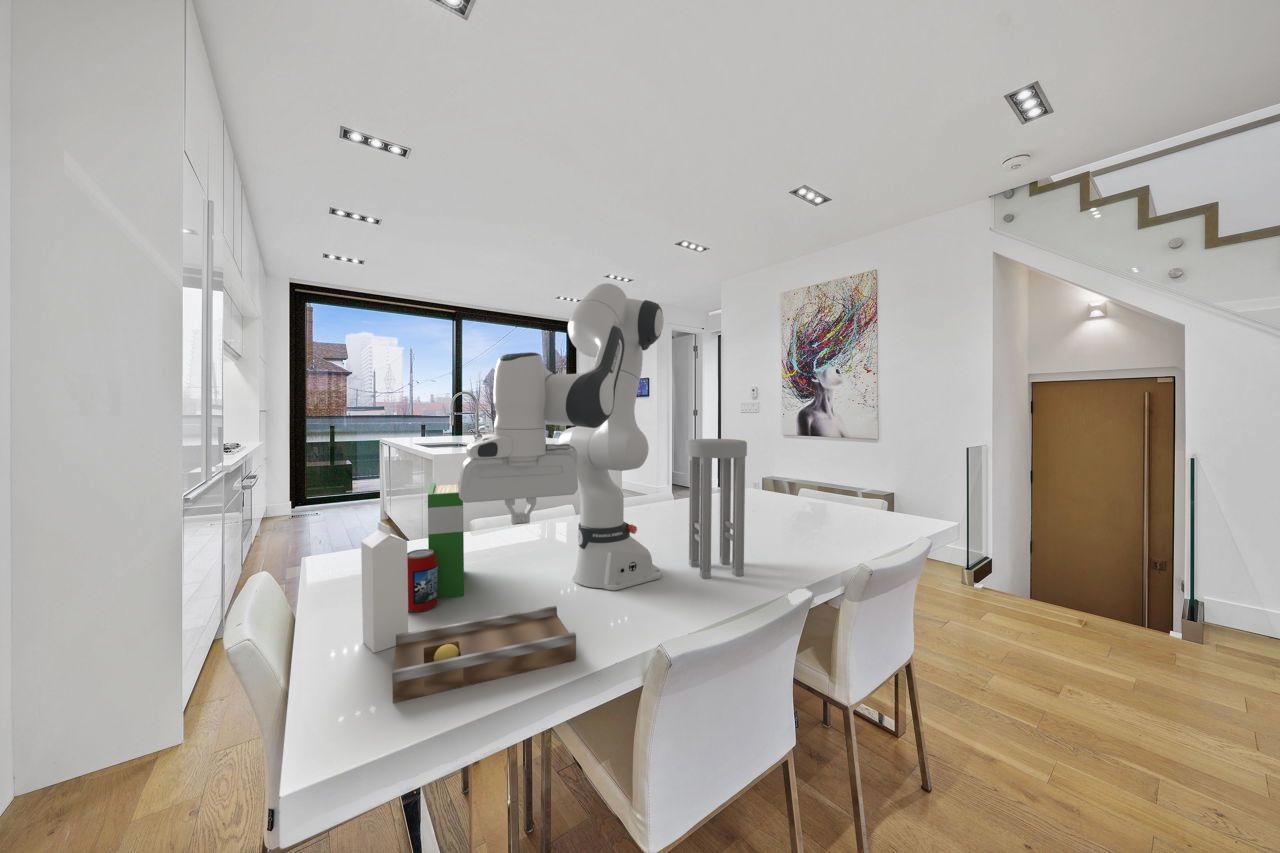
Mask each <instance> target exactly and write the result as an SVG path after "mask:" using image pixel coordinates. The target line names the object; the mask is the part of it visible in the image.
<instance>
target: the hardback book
mask: <svg viewBox="0 0 1280 853" xmlns="http://www.w3.org/2000/svg"><path fill="white" fill-rule="evenodd" d="M427 532H428V535H427V536H428V546H427V547H428V548H427V549H430V550H433V551H434V554H435V556H436V557H437V578H438V600H441V599H448V598H449V599H450V598H456V597H464V596H465V562H464V560H465V559H464V558H465V557H464V556H465V555H464V553H465V552H464V551H465V550H464V546H465V545H464V541H465V540H464V536H465V535H464V502H463V501H462V500H461V499H460V498H459V481H458V482H457V484H442V485H436V482H431V483H430V486H429V489H428V492H427Z"/></svg>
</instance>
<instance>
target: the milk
mask: <svg viewBox="0 0 1280 853" xmlns="http://www.w3.org/2000/svg"><path fill="white" fill-rule="evenodd" d="M360 544H361V546H360V547H361V548H360V549H361V551H360V552H361V553H360V556H361V597H362V598H361V600H362V601H361V602H362V603H361V606H362V608H361V609H362V613H361V614H362V641H363V643H364V645H365V646H367V647H368V649H369V650H370V651H371V652H372V653H373V654H376V653H379V652H381V651H385V650H387V649H390V648H393V647H396V634H401V633H407V632H409V610H408V567H407V553H408V541H407V540H405V539H403V538H402V537H400V536H397V535H396V534H393V533H391V527H390V526H389V525H386V524H385V523H383V522H381V521H378V522H377V530H375V531H374V532H373V533H371V534H370V535H368V536H367V537H366V538H364V539H362V540H361V541H360Z"/></svg>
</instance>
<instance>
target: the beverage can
mask: <svg viewBox="0 0 1280 853" xmlns="http://www.w3.org/2000/svg"><path fill="white" fill-rule="evenodd" d="M407 567H408V612H412V613H420V612H424V611H428V610H430V609H432V608H434V606H436V604H437V603H438V600H439V599H438V578H437V557H436V556H435V554H434V551H433V550H430V549H428V548H423V549H415V550H411V551H409V552H408V551H407Z"/></svg>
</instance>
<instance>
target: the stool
mask: <svg viewBox="0 0 1280 853" xmlns="http://www.w3.org/2000/svg"><path fill="white" fill-rule="evenodd" d="M685 450H686V453H685V455H686V456H689V486H688V487H689V490H688V491H689V494H688V495H689V496H688V497H689V498H688V499H689V506H688V507H689V509H688V510H689V511H688V514H689V515H688V516H689V517H688V523H689V524H688V566H690V567H691V568H695V567H699V577H700V578H701V579H702V580H703V579H704V580H705V579H712V508H713V507H712V505H713V504H712V500H713V499H712V498H713V497H712V496H713V495H712V494H713V492H712V491H713V489H712V488H713V459H720V467H719V468H720V470H719V471H720V474H719V476H720V478H719V480H720V481H719V485H720V487H719V489H720V490H719V492H720V493H719V558H718V559H719V562H718V563H719V564H721V565H722V566H723V565H724V566H726V565H731V564H732V565H731V567H732V568H731V570H732V571H731V574H732V575H733V576H734V577H743V576H745V573H744V572H745V571H744V570H745V511H746V510H745V502H746V500H745V498H746V497H745V496H746V457H747V456H748V442H747V440H741V439H731V438H693V439H689V440H687V441H686V449H685ZM732 459H733V465H732ZM732 466H733V468H732ZM732 470H733V475H732ZM732 476H733V478H732ZM732 479H733V480H732ZM732 481H733V482H732ZM732 483H733V484H732ZM731 495H732V496H731ZM731 501H732V502H731ZM731 503H732V504H731ZM731 506H732V508H731ZM731 510H732V511H731ZM731 512H732V513H731ZM731 514H732V515H731ZM731 518H732V521H731ZM731 531H732V533H731ZM731 542H732V551H731ZM731 552H732V557H731ZM731 558H732V560H731ZM731 561H732V563H731Z"/></svg>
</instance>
